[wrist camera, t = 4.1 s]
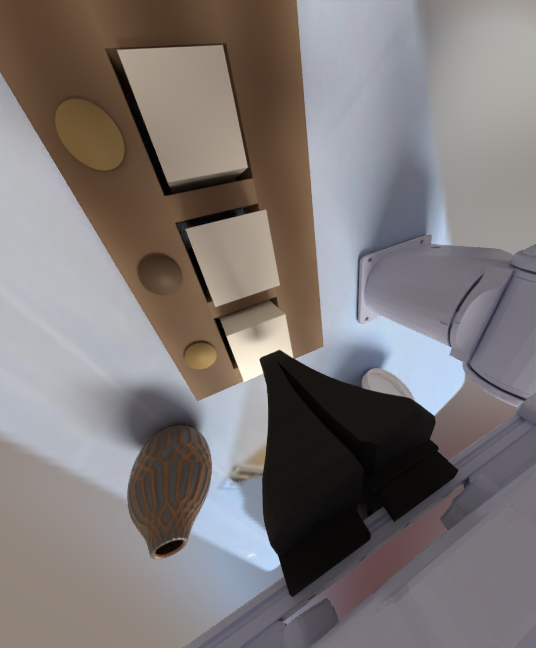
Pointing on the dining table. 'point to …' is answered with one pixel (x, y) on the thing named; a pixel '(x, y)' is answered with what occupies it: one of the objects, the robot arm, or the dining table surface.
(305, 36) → the dining table surface
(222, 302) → the button middle
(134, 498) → the vase
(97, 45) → the button board
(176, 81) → the button
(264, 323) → the button
